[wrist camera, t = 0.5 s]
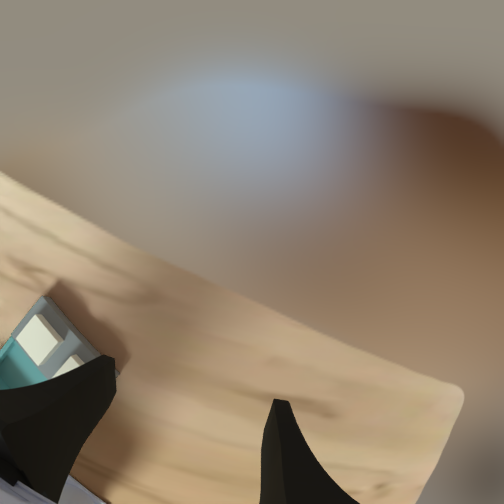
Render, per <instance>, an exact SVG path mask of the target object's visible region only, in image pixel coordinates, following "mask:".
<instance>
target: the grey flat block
mask: <svg viewBox="0 0 504 504" xmlns="http://www.w3.org/2000/svg"><path fill="white" fill-rule="evenodd" d="M35 314H42V315H43V316H44V317H45V319H46V320H47V321H48V322H49V324H50V325H51V326H52V327H53V328H54V330H55V331H56V332H57V333H58V334H59V335H60V337H61V338H62V339H63V340H64V342H63V343H62V344H61V345H60V346H59V347H58V349H57V350H56V351H55V352H54V353H53V355H52V356H51V357H50V358H49V359H48V360H47V362H46V363H45V364H43V365H40V366H38V365H37V364H36V363H35V362H34V361H33V359H32V358H31V357H30V356H29V355H28V353H27V352H26V351H25V350H24V348H23V347H22V346H21V345H20V343H19V342H18V341H17V339H16V338H17V336H18V335H19V334H20V332H21V331H22V330H23V329H24V327H25V326H26V325H27V324H28V322H29V321H30V320H31V319H32V317H33V316H34V315H35ZM11 336H12V337H13V338H14V340H15V341H16V342H17V343H18V345H19V346H20V347H21V349H22V350H23V351H24V352H25V354H26V355H27V356H28V357H29V358H30V360H31V361H32V362H33V363H34V364H35V366H36V367H37V368H38V369H39V370H40V371H41V373H42V374H43V375H44V376H45V377H46V378H47V379H48V380H49V379H51V378H52V377H53V376H54V375H55V374H56V373H57V371H58V370H59V369H60V368H61V367H62V366H63V364H64V363H65V362H66V361H67V360H68V359H69V357H70V356H72V355H75V354H77V355H78V357H79V358H80V359H81V360H82V361H83V362H84V363H87V362H89V361H91V360H93V359H95V358H97V357H99V356H101V354H100V353H99V352H98V351H97V350H96V349H95V348H94V347H93V346H92V345H91V344H90V343H89V342H88V341H87V339H86V338H85V337H84V336H83V335H82V334H81V333H80V332H79V331H78V330H77V329H76V327H75V326H74V325H73V324H72V323H71V322H70V321H69V319H68V318H67V317H66V316H65V315H64V314H63V312H62V311H61V310H60V309H59V308H58V306H57V305H56V304H55V303H54V302H53V300H52V299H51V298H50V297H46V296H41V298H40V299H39V300H38V301H37V302H36V303H35V305H34V306H33V307H32V308H31V309H30V311H29V312H28V313H27V314H26V316H25V317H24V318H23V319H22V321H21V322H20V323H19V324H18V326H17V327H16V328H15V330H14V331H13V332H12V333H11ZM119 374H120V373H119V372H118V371H117V370H116V369H115V376H116V378H117V376H118V375H119Z"/></svg>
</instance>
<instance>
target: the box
mask: <svg viewBox="0 0 504 504" xmlns="http://www.w3.org/2000/svg"><path fill="white" fill-rule="evenodd" d="M46 380H48V379H47V378H46V377H45V376H44V375H43V374H42V373H41V371H40V370H39V369H38V368H37V367H36V366H35V364H34V363H33V362H32V361H31V360H30V358H29V357H28V356H27V355H26V354H25V352H24V351H23V350H22V349H21V347H20V346H19V345H18V343H17V342H16V341H15V340H14V338H13V337H12V336H11V337H10V338H9V340H8V341H7V342H6V344H5V345H4V346H3V348H2V349H1V350H0V390H4V389H13V388H19V387H24V386H29V385H33V384H36V383H40V382H43V381H46Z"/></svg>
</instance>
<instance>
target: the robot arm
mask: <svg viewBox="0 0 504 504" xmlns="http://www.w3.org/2000/svg"><path fill="white" fill-rule="evenodd" d="M116 392H117V390H116V376H115V358H112V357H109V356H106V355H101V356H99V357H97V358H95V359H93V360H91V361H89V362H87V363H85V364H83V365H81V366H79V367H77V368H75V369H73V370H71V371H68V372H66V373H64V374H61V375H59V376H57V377H54V378H52V379H49V380H46V381H43V382H40V383H36V384H33V385H29V386H24V387H19V388H13V389H4V390H0V504H106V503H105V502H104V501H102V500H101V499H100V498H98V497H97V496H95V495H94V494H93V493H91V492H90V491H89V490H88V489H86V488H85V487H84V486H82V485H81V484H80V483H79V482H78V481H76V480H75V479H74V478H73V477H71V476H70V475H69V473H70V470H71V468H72V466H73V464H74V462H75V459H76V457H77V455H78V454H79V452H80V450H81V448H82V446H83V444H84V442H85V441H86V439H87V438H88V436H89V435H90V434H91V432H92V431H93V429H94V428H95V426H96V425H97V424H98V422H99V421H100V419H101V418H102V416H103V415H104V414H105V412H106V411H107V409H108V408H109V406H110V404H111V402H112V400H113V398H114V396H115V394H116ZM259 504H360V503H358V502H357V501H355V500H354V499H353V498H351V497H350V496H349V495H348V494H347V493H346V492H345V491H343V490H342V489H341V488H340V487H339V486H338V485H337V484H336V483H335V481H334V480H333V479H332V478H331V477H330V476H329V475H328V474H327V472H326V471H325V470H324V469H323V467H322V466H321V465H320V463H319V462H318V461H317V459H316V458H315V456H314V454H313V453H312V451H311V450H310V448H309V446H308V444H307V443H306V441H305V439H304V437H303V435H302V433H301V431H300V429H299V426H298V424H297V422H296V419H295V417H294V414H293V412H292V409H291V406H290V403H289V402H288V401H285V400H279V399H274V400H273V403H272V406H271V410H270V413H269V416H268V419H267V422H266V425H265V428H264V433H263V440H262V447H261V493H260V503H259Z"/></svg>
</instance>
